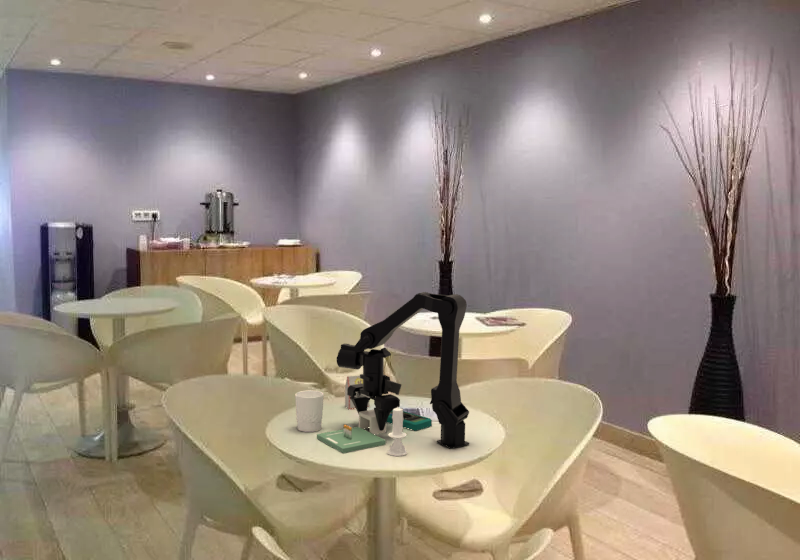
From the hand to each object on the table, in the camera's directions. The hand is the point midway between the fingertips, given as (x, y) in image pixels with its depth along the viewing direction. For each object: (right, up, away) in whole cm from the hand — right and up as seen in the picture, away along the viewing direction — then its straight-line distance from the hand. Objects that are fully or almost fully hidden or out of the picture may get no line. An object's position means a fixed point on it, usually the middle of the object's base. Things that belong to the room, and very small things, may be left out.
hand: (372, 426), depth 209 cm
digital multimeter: (+9, -1, +8) cm, 12 cm away
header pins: (-6, -1, -10) cm, 12 cm away
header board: (-5, -2, -10) cm, 11 cm away
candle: (+7, -4, -18) cm, 19 cm away
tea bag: (-6, +1, +24) cm, 25 cm away
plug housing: (0, -1, 0) cm, 1 cm away
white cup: (-18, -1, +1) cm, 18 cm away
